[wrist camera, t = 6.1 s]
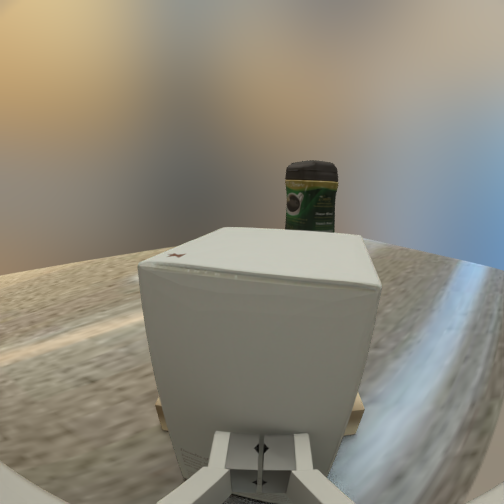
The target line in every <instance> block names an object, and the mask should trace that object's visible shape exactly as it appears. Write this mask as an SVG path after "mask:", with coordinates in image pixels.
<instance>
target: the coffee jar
mask: <svg viewBox="0 0 504 504" xmlns="http://www.w3.org/2000/svg"><path fill="white" fill-rule="evenodd" d="M285 179H286V181H285V183H286V191H287V210H286V225H285V230H301V231H316V232H330V233H334V222H335V220H334V219H335V196H336V192H337V188H338V174H337V168H336V167H335V166H334V164H333V163H330V162H323V161H302V162H296V163H292V164H291V165H289V166H288V167H287V170H286V178H285Z"/></svg>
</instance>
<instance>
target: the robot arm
mask: <svg viewBox="0 0 504 504" xmlns="http://www.w3.org/2000/svg"><path fill="white" fill-rule="evenodd" d="M259 437H260V434H246V433H234V432H223V431H216V432H215V434H214V438H213V443H212V448H211V453H210V458H209V463H208V467H202V468H201V469H200V470H199V471H197V472H196V473H195V474H194V475H193V476H191V477H190V478H189V479H188V480H186V481H185V482H184V483H182V484H181V485H180V486H179V487H177V488H176V489H175V490H173V491H172V492H171V493H169V494H168V495H167V496H165V497H164V498H163V499H161V500H160V501H158V502H157V504H223V503H224V501H225V500H226V499H227V498H228V497H229V496H230V495H231V494H232V492H241V493H257V479H258V460H259ZM262 469H263V470H262V490H261V493H286V495H287V497H288V498H289V499H290V501H291V502H292V503H293V504H355V503H354V502H353V501H352V500H351V499H349V498H348V497H347V496H346V495H345V494H344V493H343V492H342V491H340V490H339V489H338V488H337V487H336V486H335V485H334V484H333V483H332V482H331V481H330V480H328V479H327V478H326V477H325V476H324V475H323V474H322V473H321V472H320V471H319V470H318V469H313V462H312V454H311V447H310V439H309V435H308V433H301V434H293V433H292V434H264V444H263V459H262ZM0 504H70V503H68V502H66V501H64V500H62V499H60V498H58V497H56V496H54V495H52V494H51V493H49V492H47V491H45V490H44V489H42V488H40V487H38V486H37V485H35V484H33V483H32V482H30V481H29V480H27V479H26V478H24V477H23V476H21V475H20V474H18V473H17V472H15V471H14V470H12V469H11V468H9V467H8V466H7V465H5V464H4V463H3V462H1V461H0ZM465 504H504V482H502V483H500V484H499V485H497V486H496V487H494V488H492V489H491V490H489V491H487V492H485V493H484V494H482V495H480V496H479V497H477V498H475V499H473V500H471V501H469V502H467V503H465Z"/></svg>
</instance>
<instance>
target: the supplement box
mask: <svg viewBox="0 0 504 504" xmlns="http://www.w3.org/2000/svg"><path fill="white" fill-rule="evenodd" d="M138 275H139V285H140V293H141V301H142V308H143V315H144V321H145V328H146V334H147V339H148V345H149V351H150V356H151V361H152V366H153V371H154V375H155V380H156V384H157V389H158V393H159V397H160V401H161V405H162V410H163V413H164V417H165V421H166V424H167V428H168V431H169V435H170V438H171V441H172V445H173V448H174V451H175V454H176V457H177V460H178V463H179V466H180V469H181V472H182V476H183V477H184V478H186V479H189V478H190V477H191V476H193V475H194V474H195V473H196V472H197V471H199V470H200V469H201V468H202V467H208V463H209V458H210V453H211V448H212V443H213V438H214V434H215V432H216V431H223V432H234V433H246V434H260V437H259V460H258V479H257V493H241V492H232V494H235V495H239V496H243V497H247V498H251V499H256V500H260V501H265V502H270V503H276V504H293V503H292V502H291V501H290V499H289V498H288V497H287V495H286V493H261V490H262V470H263V469H262V459H263V444H264V434H292V433H293V434H301V433H308V435H309V439H310V447H311V454H312V462H313V469H318V470H319V471H320V472H321V473H322V474H323V475H324V476H325V477H326V478H327V476H328V474H329V471H330V469H331V467H332V464H333V462H334V460H335V457H336V455H337V452H338V449H339V447H340V444H341V441H342V439H343V436H344V433H345V430H346V427H347V424H348V421H349V418H350V415H351V412H352V409H353V406H354V403H355V399H356V396H357V393H358V389H359V386H360V382H361V379H362V375H363V372H364V368H365V364H366V360H367V356H368V352H369V348H370V344H371V339H372V335H373V330H374V325H375V321H376V315H377V309H378V305H379V300H380V295H381V291H382V285H381V282H380V279H379V277H378V275H377V272H376V270H375V267H374V265H373V262H372V260H371V257H370V255H369V253H368V251H367V248H366V246H365V243H364V241H363V239H362V236H360V235H352V234H341V233H330V232H316V231H301V230H283V229H265V228H263V229H262V228H241V227H224V228H221V229H219V230H216V231H214V232H212V233H209V234H207V235H204V236H202V237H200V238H197V239H195V240H192V241H189V242H187V243H185V244H182V245H180V246H177V247H175V248H173V249H170V250H168V251H165V252H163V253H161V254H158V255H156V256H153V257H151V258H149V259H146V260H144V261H142V262H140V263H139V264H138Z"/></svg>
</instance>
